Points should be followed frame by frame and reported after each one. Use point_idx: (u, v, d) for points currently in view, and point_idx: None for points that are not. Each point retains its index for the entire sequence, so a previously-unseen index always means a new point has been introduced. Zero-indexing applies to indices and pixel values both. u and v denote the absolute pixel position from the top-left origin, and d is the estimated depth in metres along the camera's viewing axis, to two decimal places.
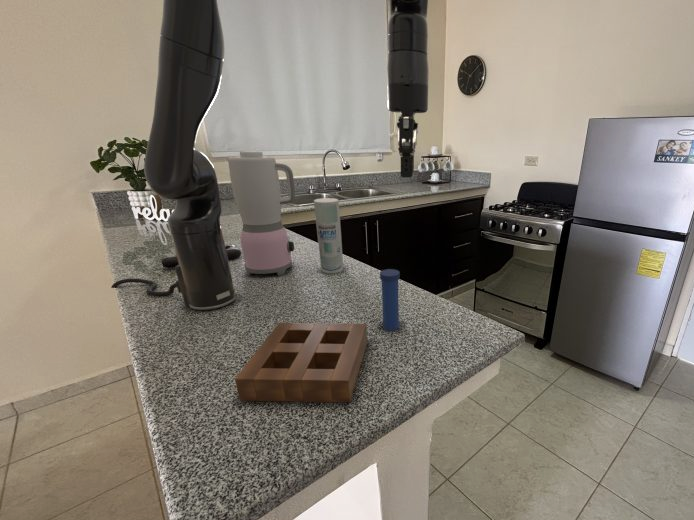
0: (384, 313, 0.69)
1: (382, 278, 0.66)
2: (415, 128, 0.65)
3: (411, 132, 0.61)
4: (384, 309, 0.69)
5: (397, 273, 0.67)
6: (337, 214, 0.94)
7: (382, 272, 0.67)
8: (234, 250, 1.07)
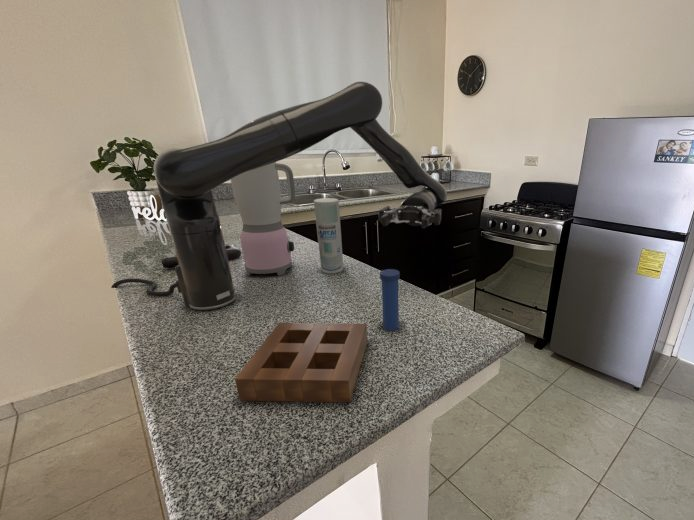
0: (384, 313, 0.69)
1: (382, 278, 0.66)
2: None
3: (440, 220, 0.81)
4: (384, 309, 0.69)
5: (397, 273, 0.67)
6: (337, 214, 0.94)
7: (382, 272, 0.67)
8: (234, 250, 1.07)
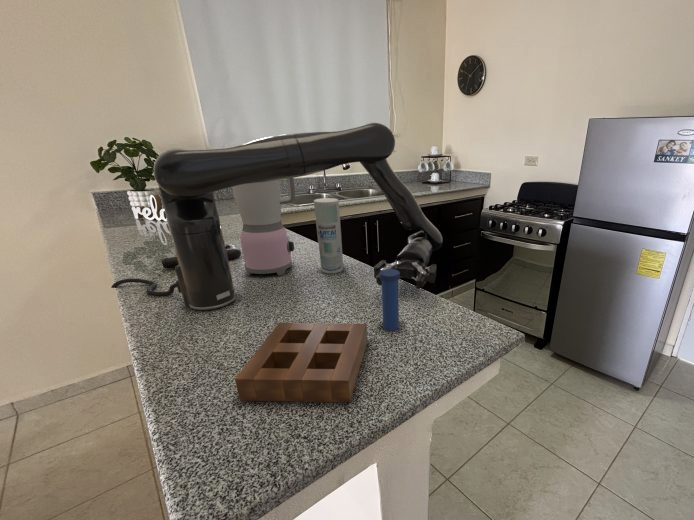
0: (384, 313, 0.69)
1: (382, 278, 0.66)
2: None
3: (435, 276, 0.82)
4: (384, 309, 0.69)
5: (397, 273, 0.67)
6: (337, 214, 0.94)
7: (382, 272, 0.67)
8: (234, 250, 1.07)
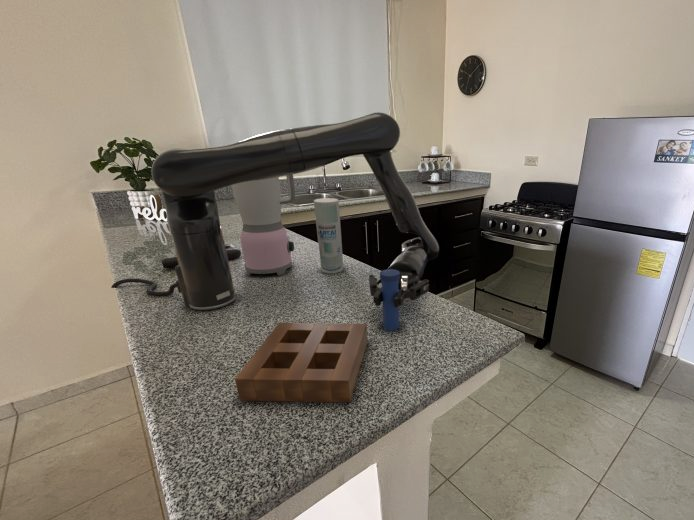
0: (384, 313, 0.69)
1: (382, 278, 0.66)
2: None
3: (422, 293, 0.73)
4: (384, 309, 0.69)
5: (397, 273, 0.67)
6: (337, 214, 0.94)
7: (382, 272, 0.67)
8: (234, 250, 1.06)
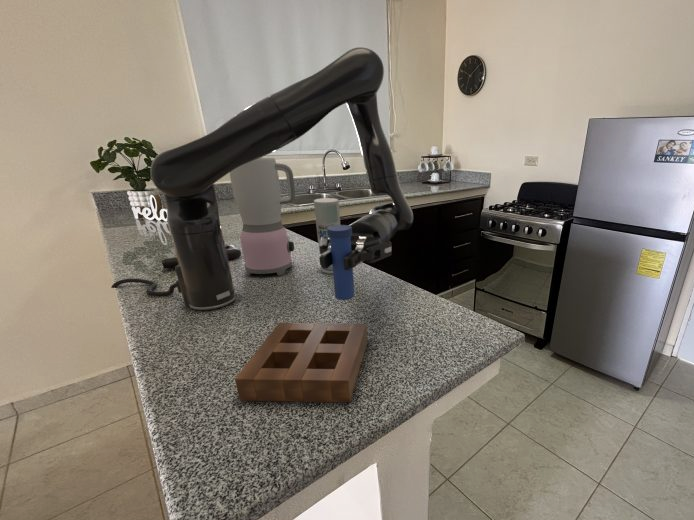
0: (335, 278, 0.57)
1: (329, 234, 0.54)
2: None
3: (383, 257, 0.61)
4: (334, 273, 0.57)
5: (348, 228, 0.55)
6: (337, 214, 0.94)
7: (330, 227, 0.55)
8: (234, 250, 1.06)
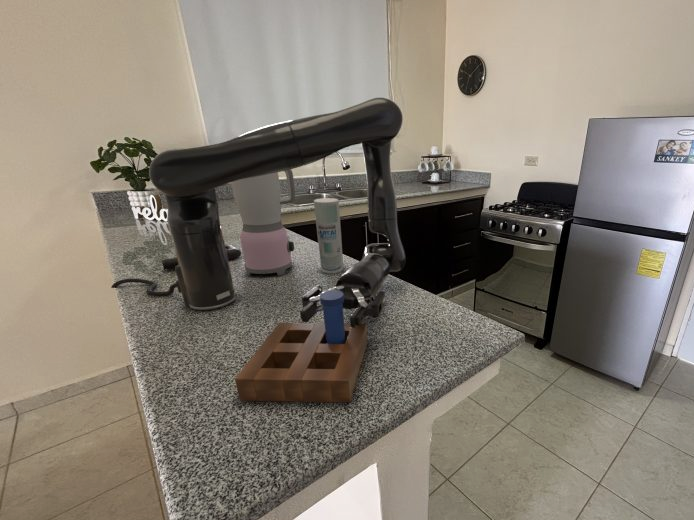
0: (327, 341, 0.59)
1: (322, 302, 0.56)
2: None
3: (382, 308, 0.63)
4: (327, 337, 0.59)
5: (340, 296, 0.57)
6: (337, 214, 0.94)
7: (323, 295, 0.57)
8: (235, 250, 1.06)
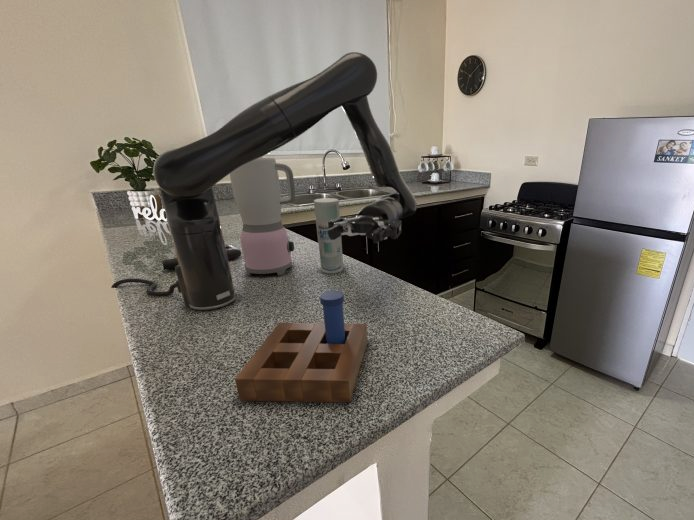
0: (327, 341, 0.59)
1: (322, 302, 0.56)
2: None
3: (399, 233, 0.71)
4: (327, 337, 0.59)
5: (340, 296, 0.57)
6: (337, 214, 0.94)
7: (323, 295, 0.57)
8: (235, 250, 1.06)
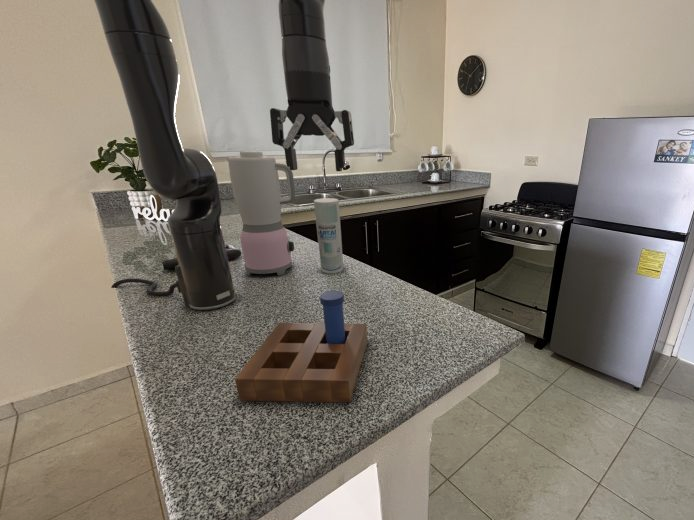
0: (327, 341, 0.59)
1: (322, 302, 0.56)
2: None
3: None
4: (327, 337, 0.59)
5: (340, 296, 0.57)
6: (337, 214, 0.94)
7: (323, 295, 0.57)
8: (235, 250, 1.06)
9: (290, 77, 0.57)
